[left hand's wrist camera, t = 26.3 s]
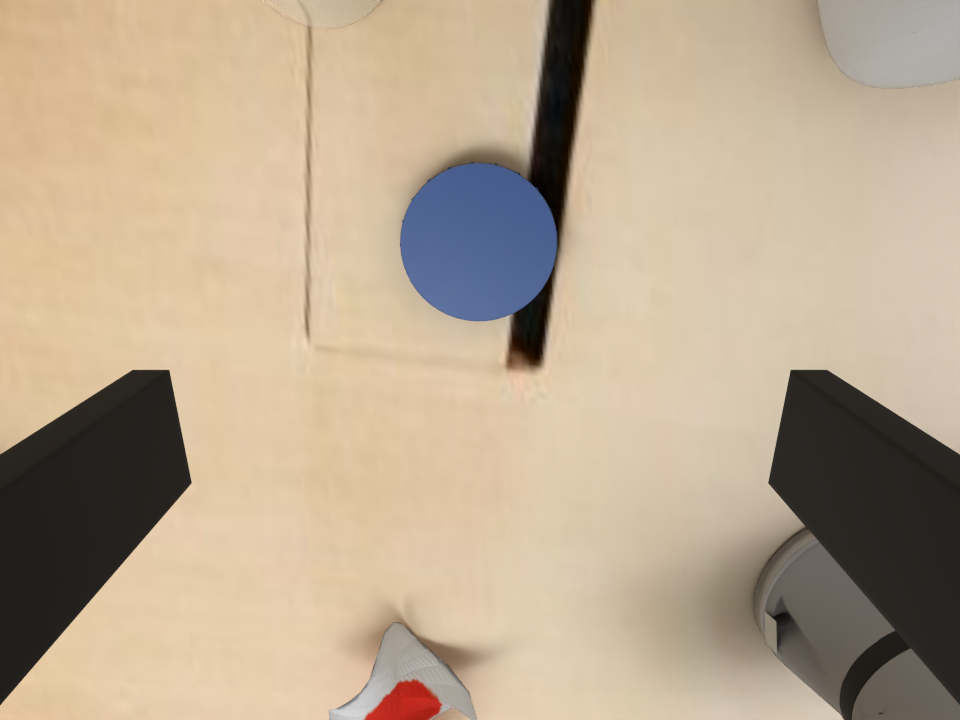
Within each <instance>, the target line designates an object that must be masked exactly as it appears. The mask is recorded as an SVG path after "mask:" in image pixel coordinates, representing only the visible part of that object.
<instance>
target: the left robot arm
mask: <svg viewBox="0 0 960 720" xmlns="http://www.w3.org/2000/svg"><path fill="white" fill-rule="evenodd" d="M190 484H191V478H190V473H189V468H188V462H187V457H186V452H185V447H184V442H183V437H182V432H181V427H180V422H179V417H178V412H177V407H176V402H175V397H174V392H173V387H172V382H171V377H170V372H169V370H132V371H131V372H129V373H127V374H126V375H124V376H123V377H121V378H120V379H118V380H116V381H115V382H113V383H112V384H110V385H109V386H107V387H105V388H104V389H102V390H101V391H99V392H98V393H96V394H94V395H93V396H91V397H90V398H88V399H87V400H85V401H84V402H82V403H80V404H79V405H77V406H76V407H74V408H73V409H71V410H69V411H68V412H66V413H65V414H63V415H62V416H60V417H58V418H57V419H55V420H54V421H52V422H51V423H49V424H47V425H46V426H44V427H43V428H41V429H40V430H38V431H36V432H35V433H33V434H32V435H30V436H29V437H27V438H26V439H24V440H22V441H21V442H19V443H18V444H16V445H15V446H13V447H11V448H10V449H8V450H7V451H5V452H4V453H2V454H0V705H1V704H2V702H3V701H4V700H5V699H6V698H7V697H8V695H9V694H10V693H11V692H12V691H13V690H14V688H15V687H16V686H17V685H18V684H19V683H20V682H21V680H22V679H23V678H24V677H25V676H26V675H27V673H28V672H29V671H30V670H31V669H32V668H33V666H34V665H35V664H36V663H37V662H38V661H39V659H40V658H41V657H42V656H43V655H44V654H45V653H46V651H47V650H48V649H49V648H50V647H51V646H52V644H53V643H54V642H55V641H56V640H57V639H58V637H59V636H60V635H61V634H62V633H63V632H64V630H65V629H66V628H67V627H68V626H69V625H70V624H71V622H72V621H73V620H74V619H75V618H76V617H77V615H78V614H79V613H80V612H81V611H82V610H83V608H84V607H85V606H86V605H87V604H88V603H89V601H90V600H91V599H92V598H93V597H94V596H95V595H96V593H97V592H98V591H99V590H100V589H101V588H102V586H103V585H104V584H105V583H106V582H107V581H108V579H109V578H110V577H111V576H112V575H113V574H114V572H115V571H116V570H117V569H118V568H119V567H120V566H121V564H122V563H123V562H124V561H125V560H126V559H127V557H128V556H129V555H130V554H131V553H132V552H133V550H134V549H135V548H136V547H137V546H138V545H139V543H140V542H141V541H142V540H143V539H144V538H145V537H146V535H147V534H148V533H149V532H150V531H151V530H152V528H153V527H154V526H155V525H156V524H157V523H158V521H159V520H160V519H161V518H162V517H163V516H164V514H165V513H166V512H167V511H168V510H169V509H170V508H171V506H172V505H173V504H174V503H175V502H176V501H177V499H178V498H179V497H180V496H181V495H182V494H183V492H184V491H185V490H186V489H187V488H188V487H189V485H190ZM769 484H770V485H771V487H772V488H773V489H774V490H775V491H776V492H777V494H778V495H779V496H780V497H781V498H782V499H783V501H784V502H785V503H786V504H787V505H788V506H789V508H790V509H791V510H792V511H793V512H794V513H795V514H796V516H797V517H798V518H799V519H800V520H801V521H802V523H803V524H804V525H805V526H806V527H807V529H805V530H803V531H802V532H800V533H799V534H797V535H796V536H794V537H793V538H792V539H790V540H789V541H788V542H787V543H786V544H784V545H783V546H782V547H781V548H780V549H779V550H778V551H777V552H776V554H775V555H774V556H773V557H772V558H771V560H770V561H769V562H768V564H767V565H766V567H765V569H764V570H763V572H762V574H761V576H760V578H759V580H758V583H757V586H756V590H755V595H754V614H755V619H756V622H757V625H758V627H759V629H760V631H761V633H762V635H763V636H764V638H765V644H766V645H767V646H768V647H769V648H770V649H771V650H772V651H773V653H774V654H775V655H776V656H777V658H778V659H779V660H780V661H781V662H782V663H783V664H784V665H785V666H786V667H788V668H789V669H790V670H791V671H792V672H793V673H794V674H795V675H797V676H798V677H799V678H800V679H801V680H802V681H803V682H804V683H806V684H807V685H808V686H809V687H810V688H811V689H812V690H814V691H815V692H816V693H817V694H818V695H819V696H820V697H821V698H823V699H824V700H825V701H826V702H827V703H828V704H829V705H831V706H832V707H833V708H834V709H835V710H836V711H837V712H838V713H840V714H841V716H842V717H843V719H844V720H960V454H958V453H956V452H955V451H953V450H952V449H950V448H949V447H947V446H945V445H944V444H942V443H941V442H939V441H938V440H936V439H934V438H933V437H931V436H930V435H928V434H927V433H925V432H924V431H922V430H920V429H919V428H917V427H916V426H914V425H913V424H911V423H909V422H908V421H906V420H905V419H903V418H902V417H900V416H898V415H897V414H895V413H894V412H892V411H891V410H889V409H887V408H886V407H884V406H883V405H881V404H880V403H878V402H876V401H875V400H873V399H872V398H870V397H869V396H867V395H866V394H864V393H862V392H861V391H859V390H858V389H856V388H855V387H853V386H851V385H850V384H848V383H847V382H845V381H844V380H842V379H840V378H839V377H837V376H836V375H834V374H833V373H831V372H829V371H828V370H791V372H790V377H789V382H788V387H787V392H786V397H785V402H784V407H783V412H782V417H781V422H780V427H779V432H778V437H777V442H776V447H775V452H774V457H773V462H772V468H771V473H770V478H769Z"/></svg>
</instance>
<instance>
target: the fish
mask: <svg viewBox="0 0 960 720" xmlns="http://www.w3.org/2000/svg"><path fill="white" fill-rule="evenodd" d="M452 707H453V708H455V709H457V710H458V711H460V712H462V713H463V714H464V715H466V716H467V717H469V718H470V719H471V720H477V717H476V714H475V710H474V707H473V703H472V700H471V696H470V693H469V691H468V690H467V689H466V688H465V686H464V685H463V684H462V682H461V681H460V680H459V679H458V677H457V676H456V675H455V674H454V672H453V671H452V670H451V668H450V667H449V666H448V665H447V664H446V663H445V662H444V661H443V660H441V659H440V658H439V657H438V656H437V655H436V654H435V653H434V652H432V651H431V650H430V649H429V648H428V647H426V646H425V645H424V644H423V643H422V642H421V641H419V640H418V639H417V638H416V637H415V636H414V635H413V633H412V632H411V631H410V630H409V629H408V628H406V627H405V626H404V625H403V624H401V623H398V622H393V623H392V624H391V626H390V627H389V628H388V629H387V630H386V631H385V633H384V636H383V639H382V641H381V645H380V648H379V651H378V655H377V658H376V661H375V664H374V667H373V670H372V674H371V677H370V680H369V682H368V683H367V684H366V686H365V687H364V688H363V690H362V691H361V692H360V693H359V694H358V695H357V696H355V697H354V698H353V699H352V700H351V701H349V702H348V703H346V704H344V705H342V706H341V707H339V708H337V709H333V710H329V718H330V720H432V719H434V718H435V717H436V716H437V715H438V714H440V713H442V712H444V711H446V710H448V709H450V708H452Z"/></svg>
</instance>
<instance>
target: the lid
mask: <svg viewBox="0 0 960 720" xmlns="http://www.w3.org/2000/svg"><path fill="white" fill-rule="evenodd" d="M427 182H428V183H426V184H425V185H424V186H423V187H422V188H421V190H420V191H419V192H418V193H417V194H416V196H415V197H413V198H412V199H411V200H412V202H411V203H410V205H409V207H408V210H407V212H406V214H405V217H404V220H403V221H402V222H403V224H402V230H401V240H400V246H401V255H402V260H403V264H404V268H405V270H406V273H407V275H408V277H409V279H410V281H411V283H412V284H413V286H414V287H415V289H416V290H417V291H418V293H419V294H420V295H421V296H422V297H423V298H424V299H425V300H426V301H427V302H428V303H429V304H431V305H432V306H433V307H435V308H436V309H438V310H439V311H441V312H443V313H445V314H447V315H450V316H453V317H455V318H459V319H463V320H469V321H488V320H495V319H499V318H502V317H505V316H508V315H510V314H512V313H514V312H516V311H518V310H520V309H521V308H523V307H524V306H525V305H527V304H528V303H529V302H531V301H532V300H533V299H534V298H535V297H536V296H537V294H538V293H539V292H540V291H541V289H542V288H543V287H544V285H545V283H546V282H547V280H548V278H549V276H550V274H551V271H552V269H553V265H554V262H555V258H556V251H557V231H556V227H555V223H554V219H553V216H552V213H551V209H550V208H549V206H548V205H547V203H546V201H545V199H544V198H543V197H542V195H541V194H540V193H539V191H538V190H539V189H538V188H537V187H534V186H533V185H532V184H531V183H530V182H529V181H527V180H526V179H525V178H523V177H522V176H521V175H520V173H519V172H517V173H516V172H514V171H512V170H510V169H508V168H505V167H503V166H499V165H498V164H497V163H495V164H490V163H474V162H473V161H472V162H471V163H468V164H462V165H458V166H455V167H452V168H451V167H448V170H446V171H443V172H442V173H440V174H438V175H437V176H435V177H434V178H432V179H431V180H430V179H429V180H428V181H427Z"/></svg>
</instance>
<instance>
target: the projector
mask: <svg viewBox="0 0 960 720" xmlns="http://www.w3.org/2000/svg"><path fill="white" fill-rule="evenodd" d="M817 2H818V9H819V15H820V20H821V25H822V31H823V34H824V38H825V41H826V45H827V48H828V50H829V53H830V55H831V57H832V59H833V61H834V63H835V64H836V66H837V67H838V68H839V70H840V71H841V72H842V73H843V74H844V75H846V76H847V77H848V78H850V79H851V80H853V81H855V82H857V83H860V84H862V85H866V86H870V87H875V88H910V87H920V86H929V85H934V84H940V83H945V82H950V81H954V80H959V79H960V0H817Z"/></svg>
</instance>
